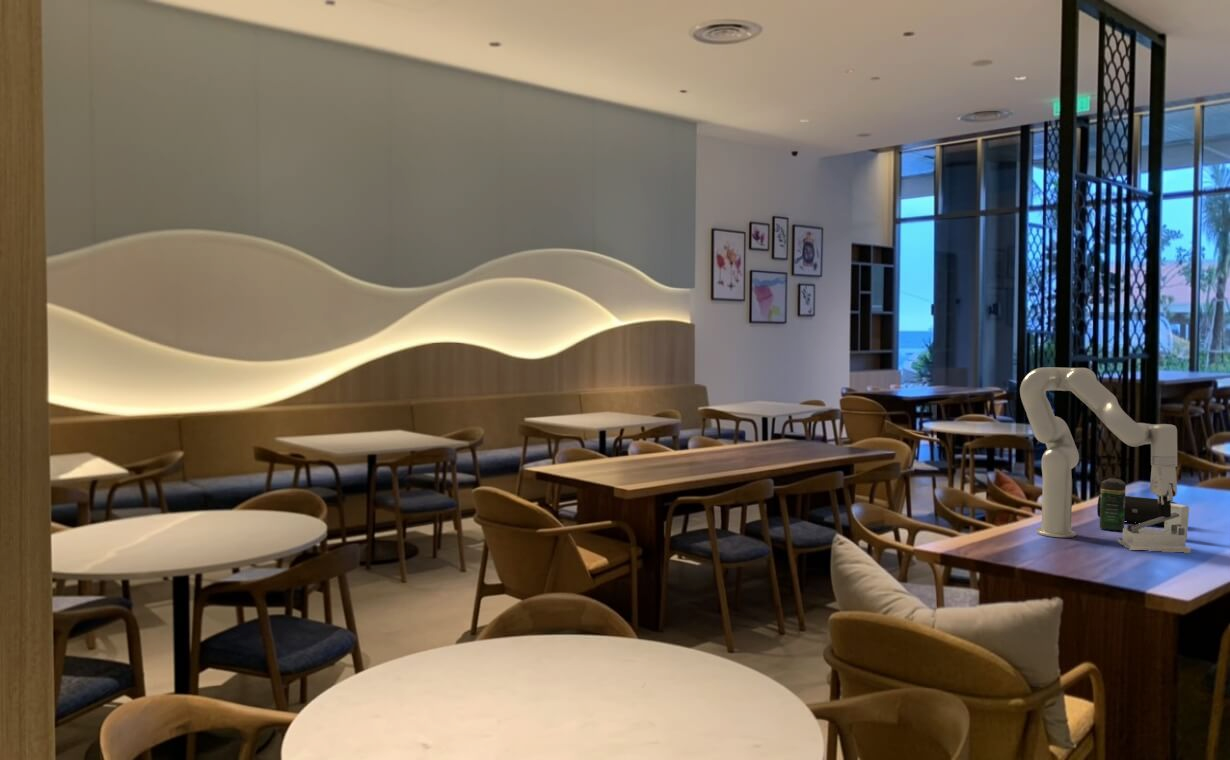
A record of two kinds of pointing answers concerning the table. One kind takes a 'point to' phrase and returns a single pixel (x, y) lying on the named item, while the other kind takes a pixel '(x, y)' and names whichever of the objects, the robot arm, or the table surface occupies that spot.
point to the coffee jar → (1112, 504)
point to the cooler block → (1155, 539)
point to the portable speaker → (1138, 509)
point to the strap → (1154, 521)
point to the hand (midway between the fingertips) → (1164, 516)
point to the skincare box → (1178, 518)
